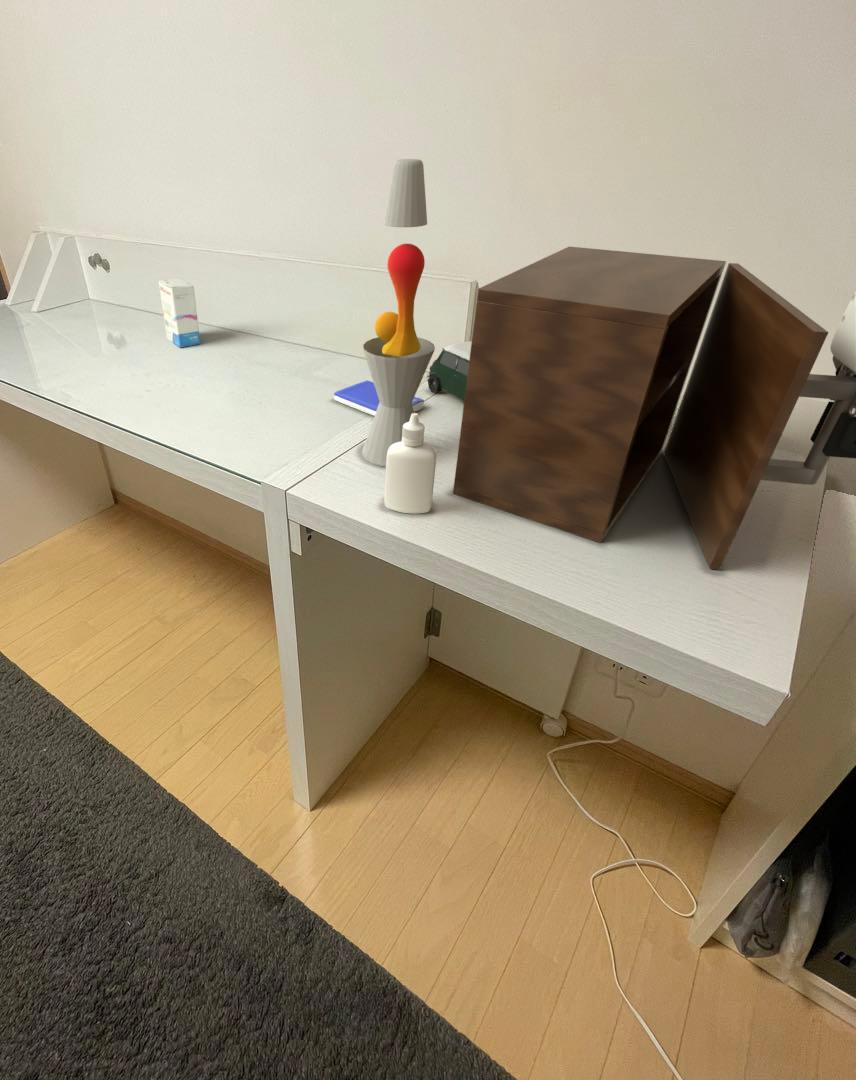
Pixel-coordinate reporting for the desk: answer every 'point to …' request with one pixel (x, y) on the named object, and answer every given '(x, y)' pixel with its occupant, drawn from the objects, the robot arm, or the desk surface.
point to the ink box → (179, 312)
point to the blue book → (366, 398)
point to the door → (747, 407)
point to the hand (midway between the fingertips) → (836, 448)
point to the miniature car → (451, 370)
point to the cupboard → (578, 381)
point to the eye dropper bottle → (410, 471)
